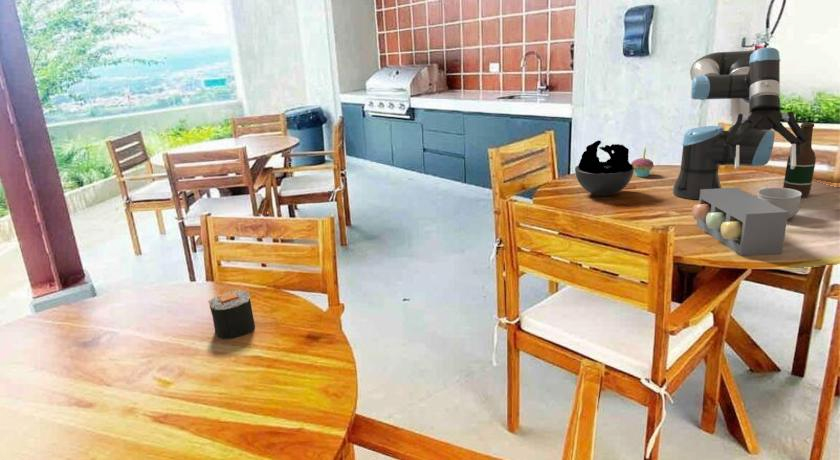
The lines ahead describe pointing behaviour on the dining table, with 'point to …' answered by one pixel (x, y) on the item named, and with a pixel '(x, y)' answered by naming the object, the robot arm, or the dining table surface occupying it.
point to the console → (746, 221)
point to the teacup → (782, 198)
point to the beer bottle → (802, 165)
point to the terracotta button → (701, 211)
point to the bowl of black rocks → (604, 169)
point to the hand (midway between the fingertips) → (764, 167)
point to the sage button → (715, 220)
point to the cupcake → (642, 166)
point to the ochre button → (731, 229)
